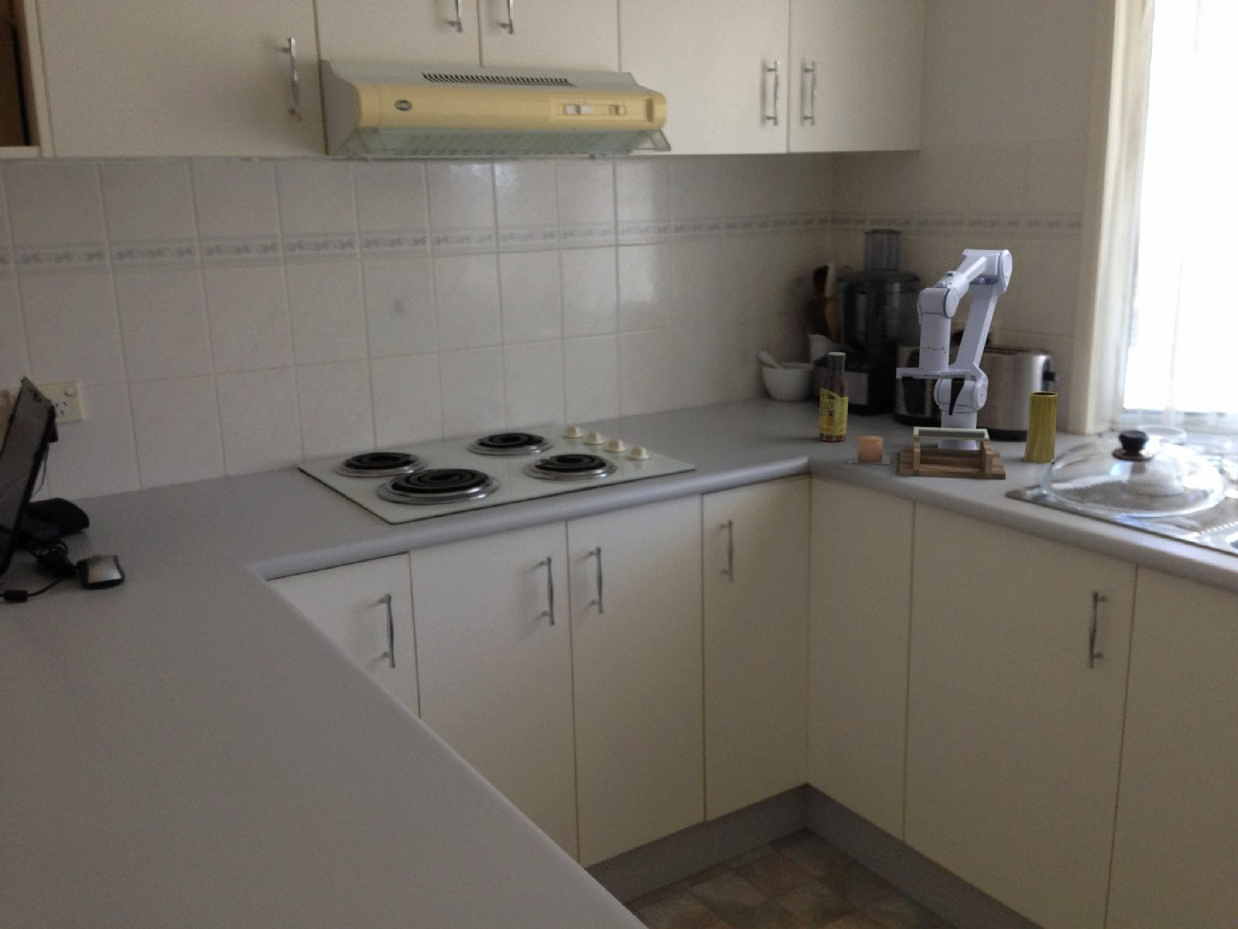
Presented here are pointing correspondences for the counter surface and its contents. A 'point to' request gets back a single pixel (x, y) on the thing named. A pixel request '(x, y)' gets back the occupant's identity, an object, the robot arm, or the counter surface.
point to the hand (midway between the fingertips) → (930, 413)
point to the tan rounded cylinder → (870, 448)
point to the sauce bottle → (834, 400)
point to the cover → (951, 433)
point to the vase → (1041, 427)
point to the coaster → (884, 462)
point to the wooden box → (951, 462)
